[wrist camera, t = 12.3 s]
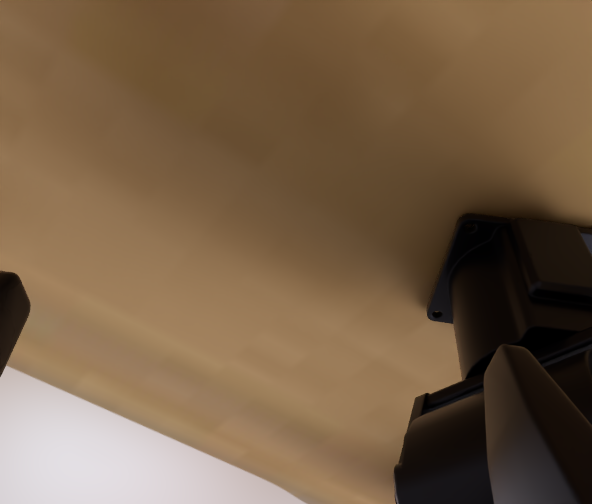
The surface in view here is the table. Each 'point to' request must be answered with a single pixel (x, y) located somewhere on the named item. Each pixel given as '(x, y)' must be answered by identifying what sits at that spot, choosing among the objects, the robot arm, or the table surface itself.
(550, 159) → the table surface
